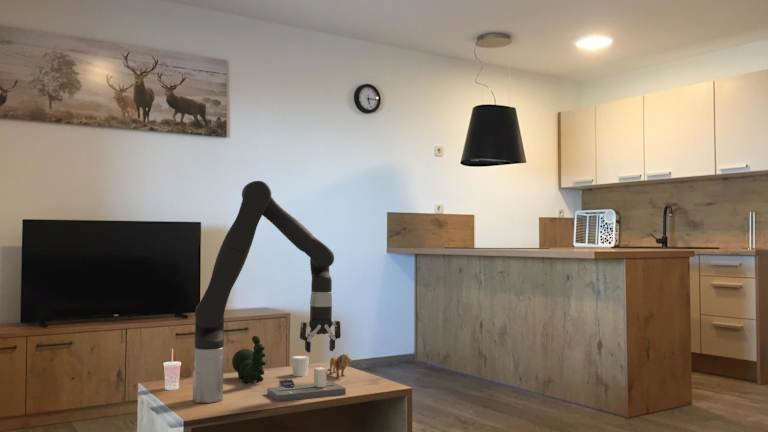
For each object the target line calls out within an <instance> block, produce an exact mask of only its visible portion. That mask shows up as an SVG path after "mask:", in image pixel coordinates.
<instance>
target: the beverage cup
mask: <svg viewBox="0 0 768 432" xmlns="http://www.w3.org/2000/svg"><path fill="white" fill-rule="evenodd" d="M181 366H182V362H181V361H174V348H171V361H166V362H165V361H164V362H163V367H164V369H163V371H164V389H165V390H167V391H168V390H169V391H173V390H178V389H180V376H181V375H180V374H181Z"/></svg>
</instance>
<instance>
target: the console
mask: <svg viewBox="0 0 768 432" xmlns="http://www.w3.org/2000/svg"><path fill="white" fill-rule="evenodd" d="M346 391H347V389H346V388H345V387H344V386H342V385H340V384H338V383H336V382H334V381H326V387H316V386H314V382H313V383H304V384H296V385H295V384H294V387H293V388H285V387H283V386H275V387H267V393H266V394H267V395H268V396H270V397H271V398H272V399H274V400H276V402H279V403H280V402H287V401H296V400H304V399H305V400H306V399H314V398H315V399H316V398H323V397H324V398H325V397H333V396H340V395H341V396H342V395H346V393H347V392H346Z"/></svg>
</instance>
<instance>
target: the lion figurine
mask: <svg viewBox="0 0 768 432" xmlns="http://www.w3.org/2000/svg"><path fill="white" fill-rule="evenodd" d="M352 362H353V359H351V358H350V357H349V356H348V354H347V353H343V354H341V355H340V356H339V355H338V356H337V357H336V356H333V357H331V358H330V360H329V369H326V372H329V373H328V375H330V376H331V375H333V373H336V378H337V377H338V378H340V377H342V376H343V377H345V376H346V375H345V374H344V372H345V369H346V368H347V367H348V366H349V365H351V363H352ZM340 371H341V373H340ZM343 377H342V378H343Z"/></svg>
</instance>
